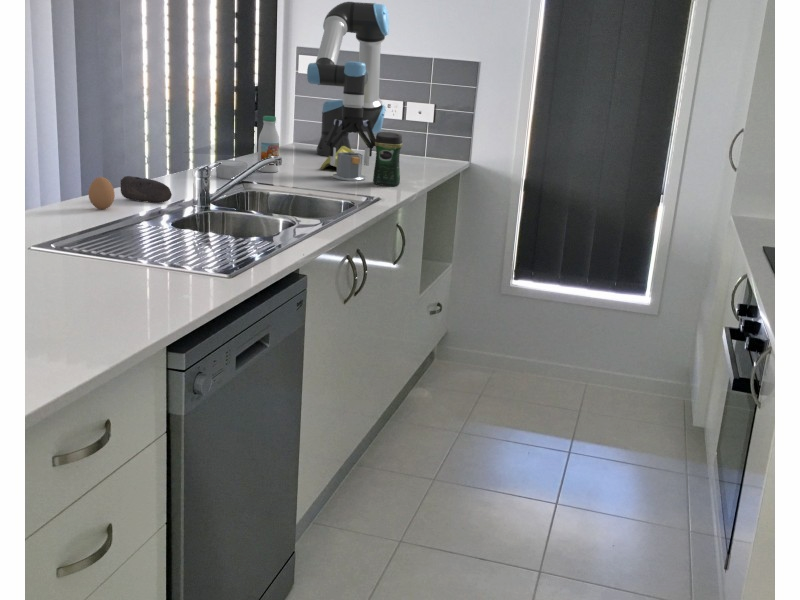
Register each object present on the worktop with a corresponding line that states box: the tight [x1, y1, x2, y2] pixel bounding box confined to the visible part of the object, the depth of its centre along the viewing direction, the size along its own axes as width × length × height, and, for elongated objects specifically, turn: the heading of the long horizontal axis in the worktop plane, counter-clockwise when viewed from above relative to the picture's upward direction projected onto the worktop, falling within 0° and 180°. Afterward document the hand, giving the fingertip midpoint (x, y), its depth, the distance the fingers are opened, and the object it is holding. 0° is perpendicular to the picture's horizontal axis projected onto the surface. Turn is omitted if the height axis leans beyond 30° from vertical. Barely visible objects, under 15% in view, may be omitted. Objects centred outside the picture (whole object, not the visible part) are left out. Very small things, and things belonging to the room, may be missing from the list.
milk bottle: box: [257, 115, 280, 173], centre depth 312 cm, size 8×8×20 cm
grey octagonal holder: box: [335, 152, 363, 178], centre depth 311 cm, size 8×11×8 cm
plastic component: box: [320, 146, 356, 170], centre depth 335 cm, size 20×7×10 cm
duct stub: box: [332, 173, 366, 182], centre depth 312 cm, size 12×12×8 cm
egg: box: [88, 176, 116, 210], centre depth 234 cm, size 7×7×9 cm
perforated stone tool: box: [119, 175, 173, 203], centre depth 248 cm, size 15×5×7 cm, turn 80°
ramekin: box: [214, 159, 248, 180], centre depth 297 cm, size 11×11×5 cm
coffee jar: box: [372, 131, 403, 187], centre depth 304 cm, size 10×8×19 cm
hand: (349, 165), depth 312 cm, fingers open, 13 cm apart
